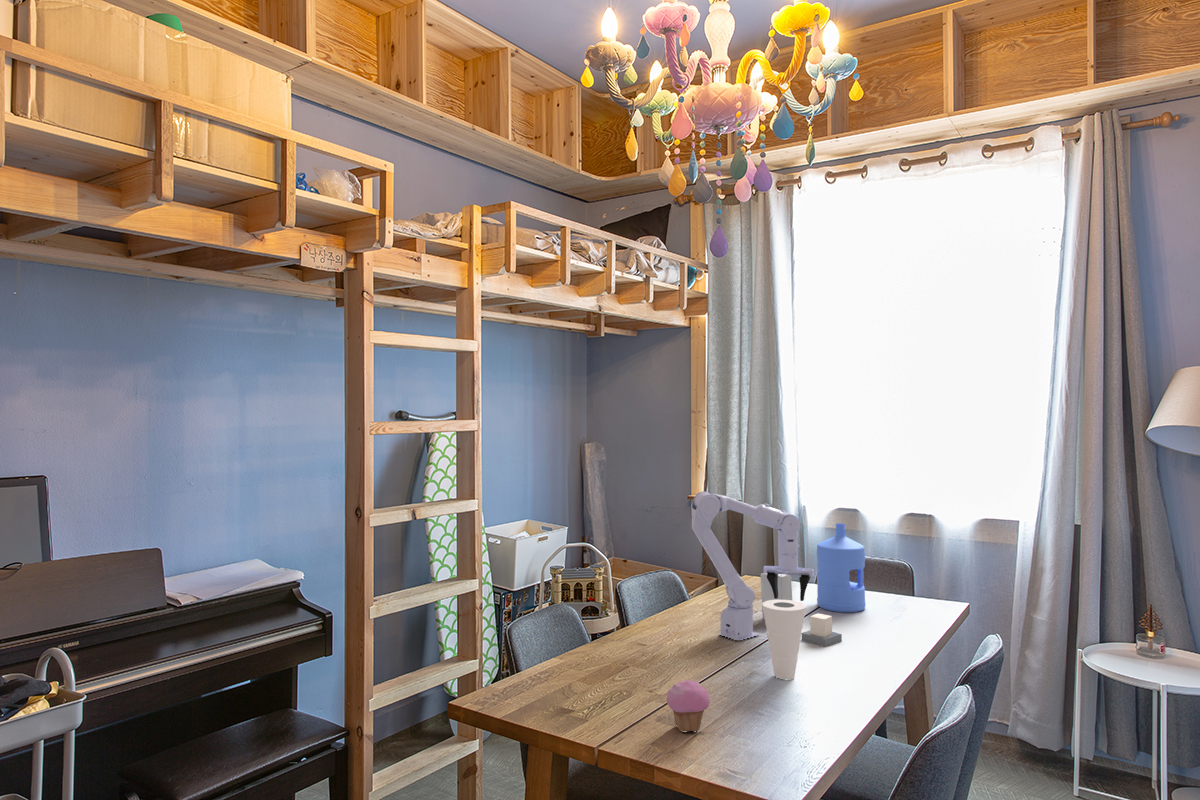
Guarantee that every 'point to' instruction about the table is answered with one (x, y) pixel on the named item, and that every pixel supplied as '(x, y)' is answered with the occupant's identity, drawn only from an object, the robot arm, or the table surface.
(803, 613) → the cup
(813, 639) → the base
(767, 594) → the skincare box
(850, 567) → the water jug
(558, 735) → the table surface
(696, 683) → the cupcake
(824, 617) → the block
